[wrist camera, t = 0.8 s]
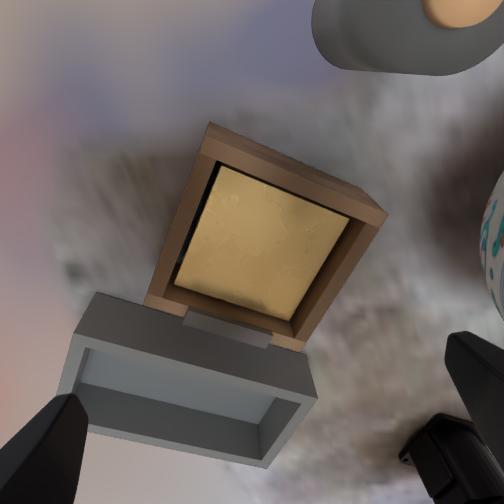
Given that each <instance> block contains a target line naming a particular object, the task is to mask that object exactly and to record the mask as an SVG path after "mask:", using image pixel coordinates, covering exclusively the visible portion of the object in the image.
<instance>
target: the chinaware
mask: <svg viewBox="0 0 504 504" xmlns="http://www.w3.org/2000/svg"><path fill="white" fill-rule="evenodd" d="M480 260H481V266H482V271H483V275H484V279H485V282H486V285H487V288H488V290H489V293H490V295H491V298H492V300H493V302H494V304H495V306H496V308H497V310H498V312H499V313H500V315H501V317H502V319H503V320H504V171H503V172H502V174H501V175H500V177H499V179H498V181H497V183H496V185H495V187H494V189H493V191H492V193H491V195H490V198H489V200H488V203H487V205H486V208H485V212H484V215H483V219H482V224H481V231H480Z"/></svg>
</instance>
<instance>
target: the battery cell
mask: <svg viewBox="0 0 504 504" xmlns="http://www.w3.org/2000/svg"><path fill="white" fill-rule="evenodd" d="M311 25H312V34H313V38H314V41H315V44H316V46H317V48H318V50H319V52H320V53H321V55H322V56H323V57H324V58H325V59H326V60H327V61H328V62H329V63H331V64H332V65H334V66H336V67H338V68H342V69H347V70H360V71H374V72H388V73H402V74H417V75H431V76H445V75H451V74H456V73H459V72H462V71H465V70H467V69H469V68H471V67H473V66H475V65H477V64H479V63H480V62H482V61H483V60H485V59H486V58H487V57H489V56H490V55H491V54H493V53H494V52H495V51H496V50H497V49H498V48H499V47H500V46H501V45H502V44H503V43H504V0H315V3H314V6H313V11H312V22H311Z"/></svg>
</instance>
